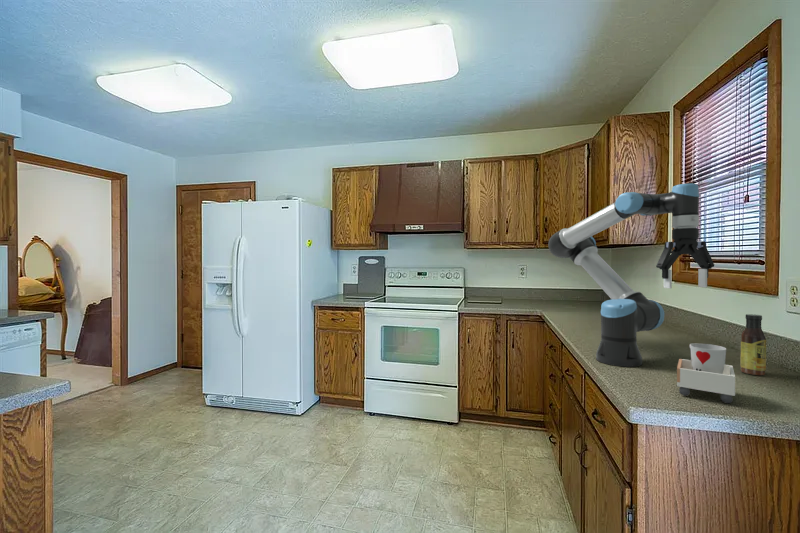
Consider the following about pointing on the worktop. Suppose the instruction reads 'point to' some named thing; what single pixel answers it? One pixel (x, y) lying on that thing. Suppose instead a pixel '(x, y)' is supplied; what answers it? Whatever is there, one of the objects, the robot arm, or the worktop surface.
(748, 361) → the sauce bottle
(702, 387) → the white open box
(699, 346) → the cup
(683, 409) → the worktop surface
